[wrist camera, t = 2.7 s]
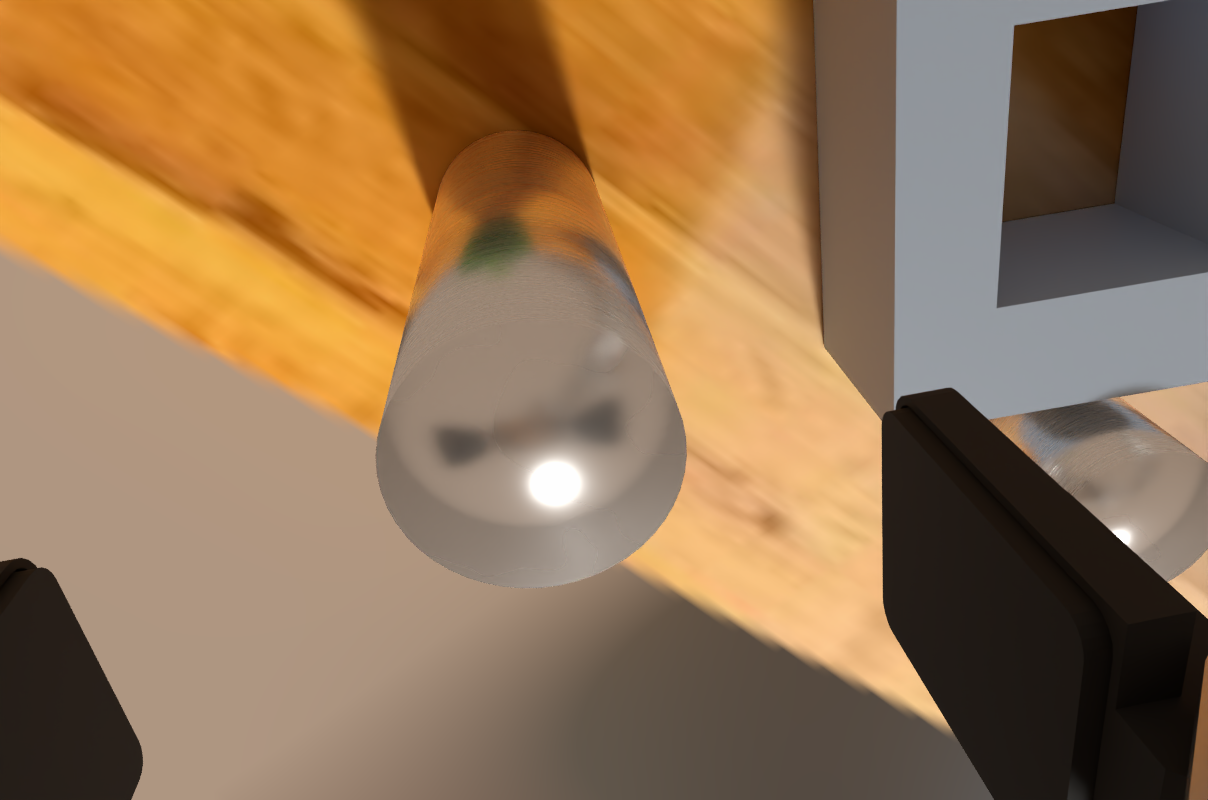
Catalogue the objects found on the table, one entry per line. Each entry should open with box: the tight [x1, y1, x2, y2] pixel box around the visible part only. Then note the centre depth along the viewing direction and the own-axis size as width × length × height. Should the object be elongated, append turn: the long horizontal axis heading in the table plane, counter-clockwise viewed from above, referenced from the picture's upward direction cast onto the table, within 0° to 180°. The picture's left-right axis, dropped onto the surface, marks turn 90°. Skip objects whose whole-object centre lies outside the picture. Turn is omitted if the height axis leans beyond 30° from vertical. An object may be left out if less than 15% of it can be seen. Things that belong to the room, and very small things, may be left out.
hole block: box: [813, 0, 1208, 420], centre depth 20 cm, size 11×10×5 cm
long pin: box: [376, 130, 687, 588], centre depth 17 cm, size 4×4×12 cm
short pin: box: [989, 397, 1208, 582], centre depth 24 cm, size 4×4×6 cm
